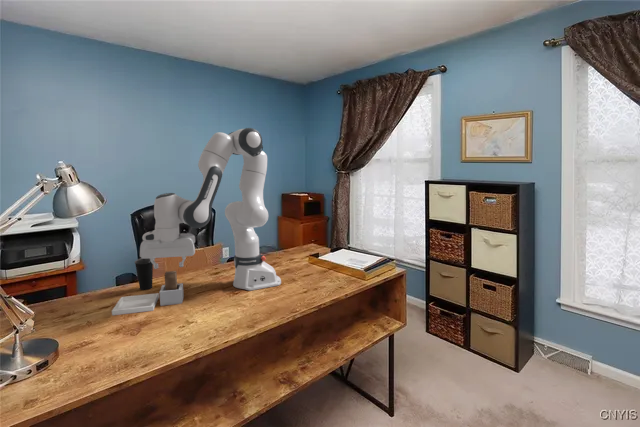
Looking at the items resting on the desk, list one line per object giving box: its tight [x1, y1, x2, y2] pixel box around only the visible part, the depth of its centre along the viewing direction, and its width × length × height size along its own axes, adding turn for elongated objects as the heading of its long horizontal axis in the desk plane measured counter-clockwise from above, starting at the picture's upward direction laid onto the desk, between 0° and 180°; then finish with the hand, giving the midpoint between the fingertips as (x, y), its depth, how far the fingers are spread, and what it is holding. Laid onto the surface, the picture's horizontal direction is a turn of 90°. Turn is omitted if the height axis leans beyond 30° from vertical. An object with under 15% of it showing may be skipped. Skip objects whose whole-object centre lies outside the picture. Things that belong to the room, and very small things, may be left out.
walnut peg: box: [164, 270, 178, 291], centre depth 140 cm, size 4×4×12 cm
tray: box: [111, 292, 160, 316], centre depth 136 cm, size 14×14×2 cm
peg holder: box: [159, 283, 184, 307], centre depth 141 cm, size 8×8×6 cm
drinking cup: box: [134, 257, 154, 291], centre depth 154 cm, size 8×8×20 cm
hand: (168, 267), depth 139 cm, fingers open, 8 cm apart
